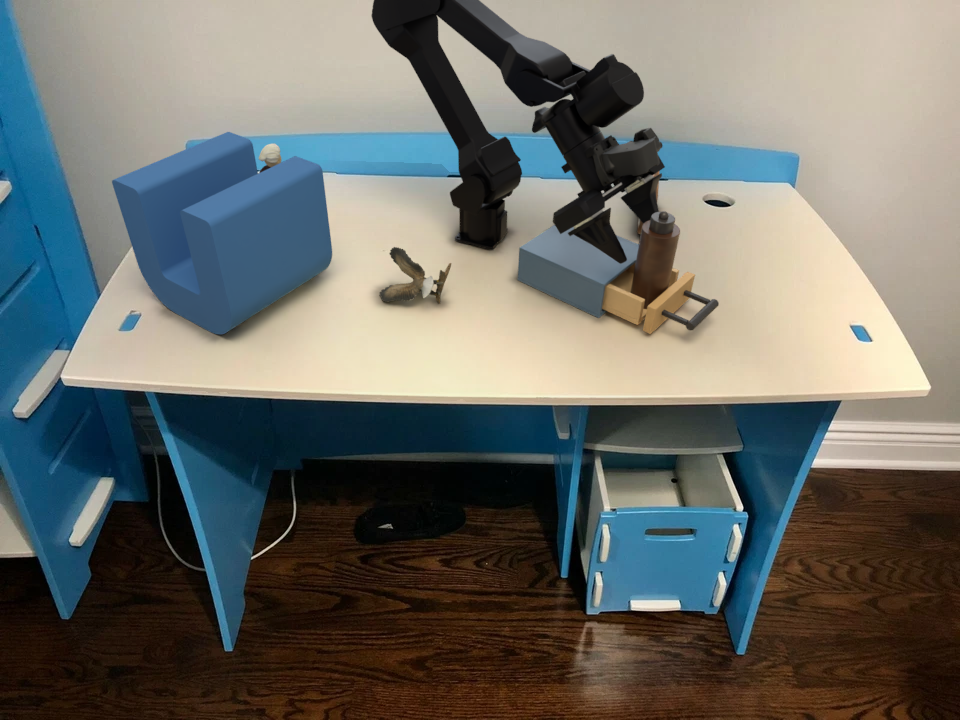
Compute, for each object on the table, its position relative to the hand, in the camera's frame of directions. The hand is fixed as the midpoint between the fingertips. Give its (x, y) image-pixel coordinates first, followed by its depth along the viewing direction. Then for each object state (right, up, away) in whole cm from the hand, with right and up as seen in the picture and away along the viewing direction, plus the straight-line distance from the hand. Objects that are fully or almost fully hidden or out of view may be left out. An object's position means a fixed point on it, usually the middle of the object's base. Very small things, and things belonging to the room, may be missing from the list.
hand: (642, 248), depth 100 cm
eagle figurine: (-31, -6, +6) cm, 32 cm away
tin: (+5, +8, +24) cm, 26 cm away
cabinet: (-7, -3, +10) cm, 13 cm away
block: (-54, -5, +6) cm, 55 cm away
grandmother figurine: (-53, +8, +22) cm, 58 cm away
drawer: (+1, -7, +4) cm, 8 cm away
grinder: (+1, -7, +4) cm, 8 cm away
